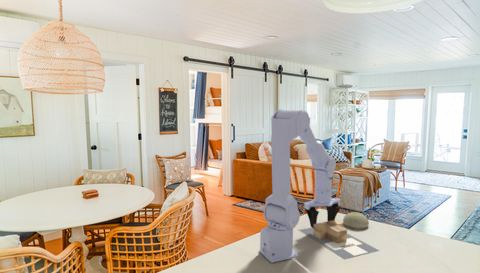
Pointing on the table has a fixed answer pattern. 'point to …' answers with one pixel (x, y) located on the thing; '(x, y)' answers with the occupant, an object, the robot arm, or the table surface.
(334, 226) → the T block
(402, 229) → the table surface
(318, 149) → the robot arm
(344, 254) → the T board
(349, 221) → the sea urchin shell
